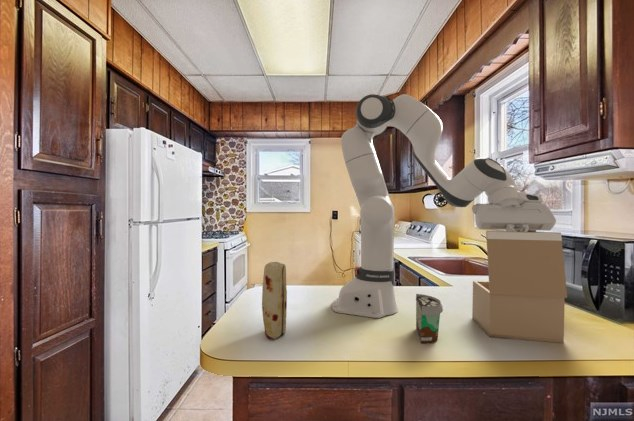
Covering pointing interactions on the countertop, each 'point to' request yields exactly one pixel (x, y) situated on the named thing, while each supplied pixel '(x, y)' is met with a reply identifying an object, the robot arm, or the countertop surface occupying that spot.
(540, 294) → the flap
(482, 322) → the carton
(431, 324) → the food container
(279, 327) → the food model
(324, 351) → the countertop surface
